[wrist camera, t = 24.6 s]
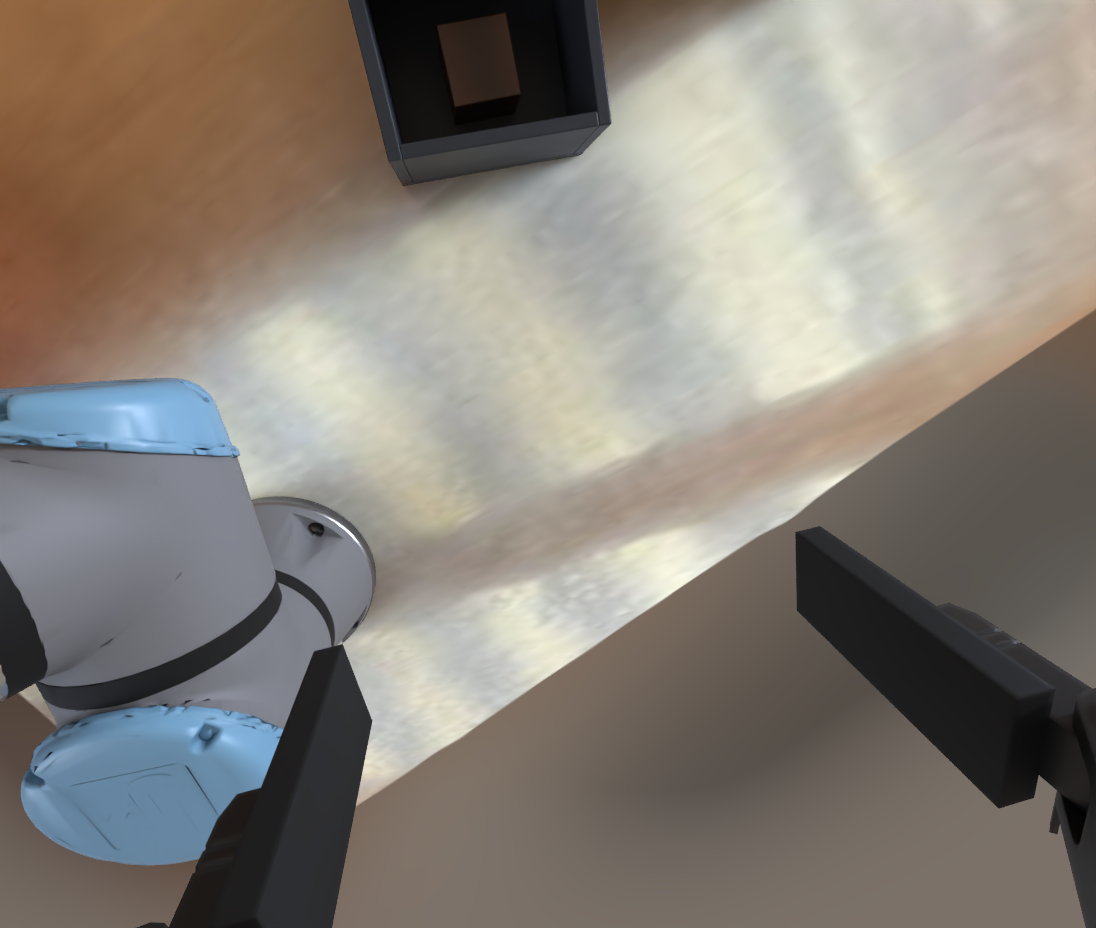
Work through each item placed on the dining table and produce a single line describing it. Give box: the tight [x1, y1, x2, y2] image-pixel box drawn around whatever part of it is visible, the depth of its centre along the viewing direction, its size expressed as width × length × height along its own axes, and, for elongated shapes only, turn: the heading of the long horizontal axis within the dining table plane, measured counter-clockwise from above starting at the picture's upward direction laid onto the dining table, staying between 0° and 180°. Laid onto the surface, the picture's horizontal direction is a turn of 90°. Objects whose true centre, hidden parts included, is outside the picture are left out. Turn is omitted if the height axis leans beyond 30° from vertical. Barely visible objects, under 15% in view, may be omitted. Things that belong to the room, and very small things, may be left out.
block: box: [436, 13, 521, 125], centre depth 36 cm, size 4×4×4 cm
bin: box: [348, 0, 611, 186], centre depth 33 cm, size 14×17×9 cm
